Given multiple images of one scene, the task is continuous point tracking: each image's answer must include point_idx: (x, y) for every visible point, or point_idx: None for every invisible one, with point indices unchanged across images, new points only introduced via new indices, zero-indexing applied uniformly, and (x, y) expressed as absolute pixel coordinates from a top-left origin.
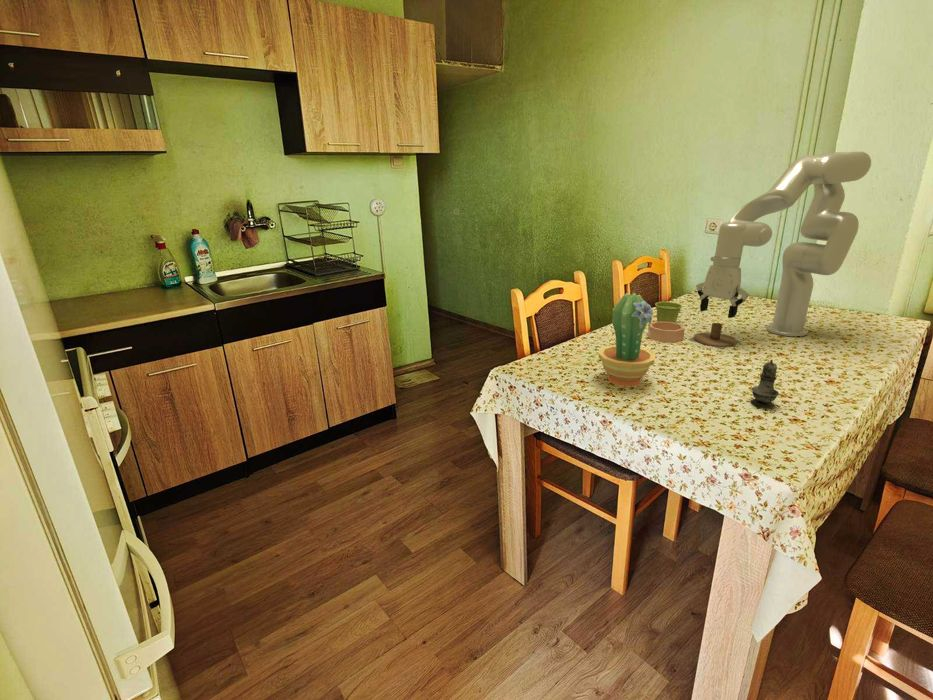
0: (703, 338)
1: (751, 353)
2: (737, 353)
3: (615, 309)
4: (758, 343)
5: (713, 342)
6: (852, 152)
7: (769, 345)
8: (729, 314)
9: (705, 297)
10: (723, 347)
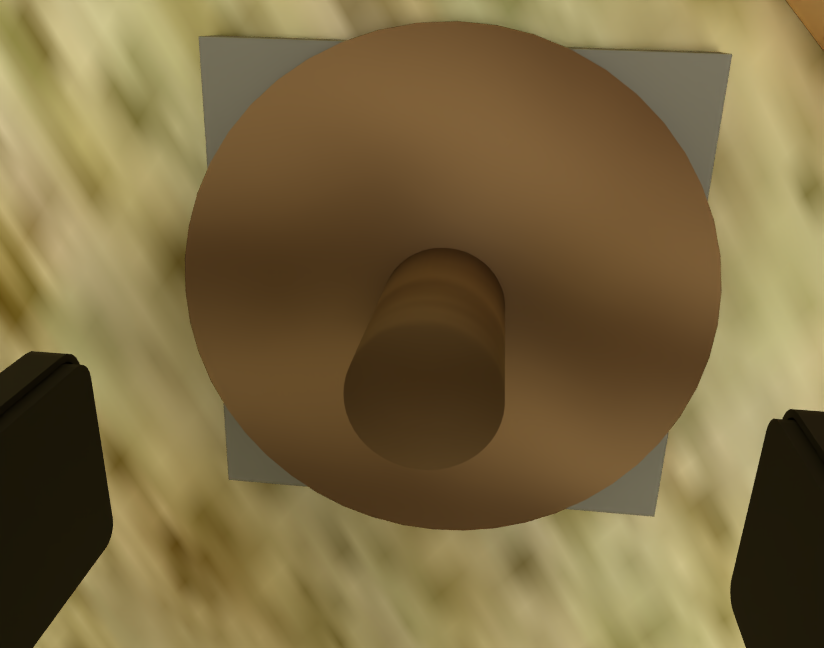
0: (543, 183)
1: (7, 268)
2: (78, 146)
3: None
4: (168, 601)
5: (356, 122)
6: None
7: (80, 612)
8: (6, 384)
9: None
10: (219, 118)
